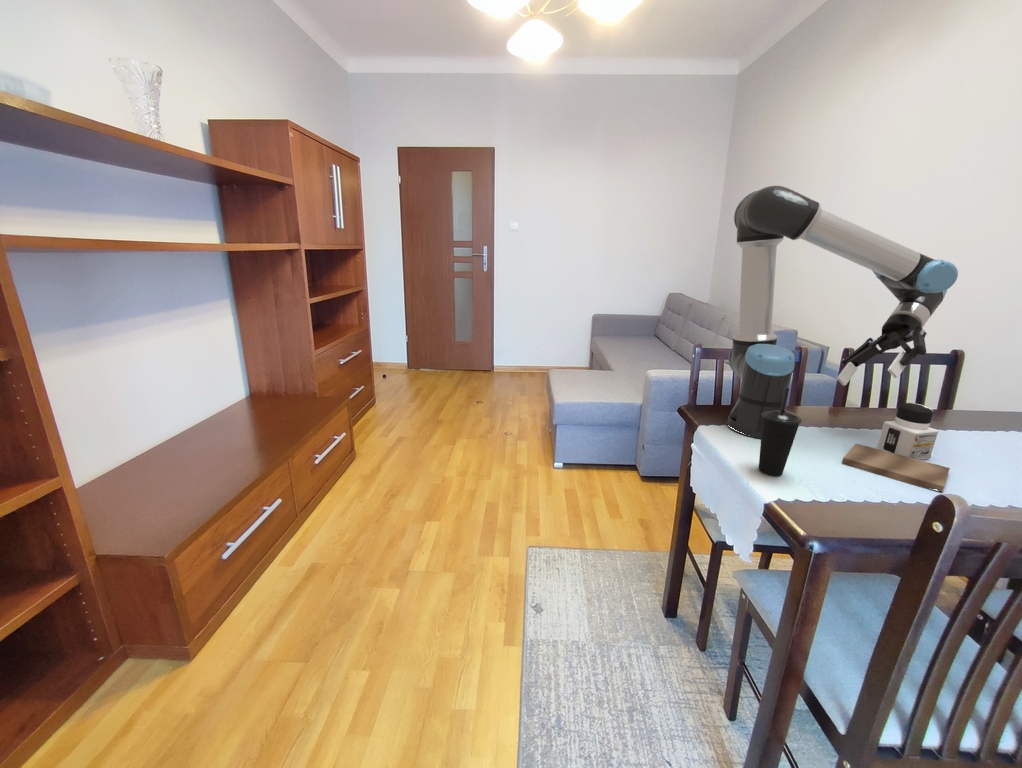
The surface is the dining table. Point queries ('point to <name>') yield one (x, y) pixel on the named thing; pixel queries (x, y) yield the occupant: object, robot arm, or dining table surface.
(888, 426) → the container
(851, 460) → the serving board
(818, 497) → the dining table surface
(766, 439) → the drinking cup
